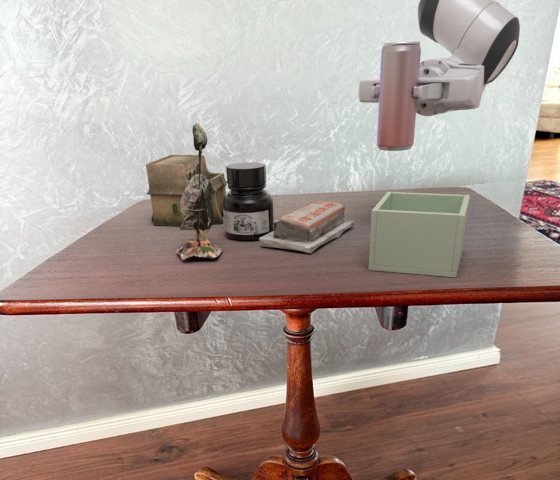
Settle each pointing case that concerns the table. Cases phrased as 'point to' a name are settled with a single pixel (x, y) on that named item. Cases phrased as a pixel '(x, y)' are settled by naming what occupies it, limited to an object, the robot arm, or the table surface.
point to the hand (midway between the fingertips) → (395, 92)
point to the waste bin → (418, 233)
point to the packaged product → (308, 227)
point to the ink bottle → (247, 202)
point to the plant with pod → (198, 207)
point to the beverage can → (398, 95)
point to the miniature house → (180, 188)
